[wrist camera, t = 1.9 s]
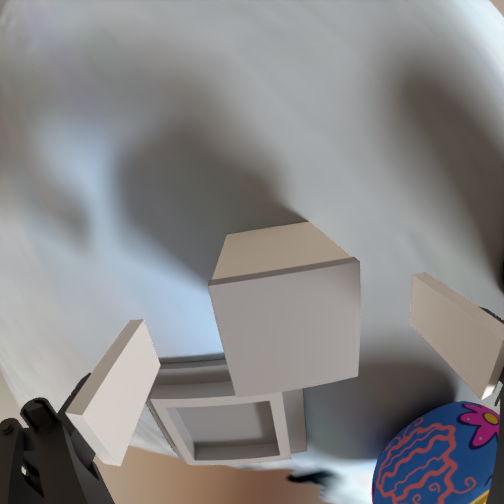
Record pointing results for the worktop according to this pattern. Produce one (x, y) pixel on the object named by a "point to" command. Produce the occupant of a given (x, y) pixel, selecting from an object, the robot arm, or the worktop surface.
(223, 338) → the plug block
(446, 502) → the ceramic pot
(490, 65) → the worktop surface
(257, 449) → the socket plate
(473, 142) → the worktop surface
